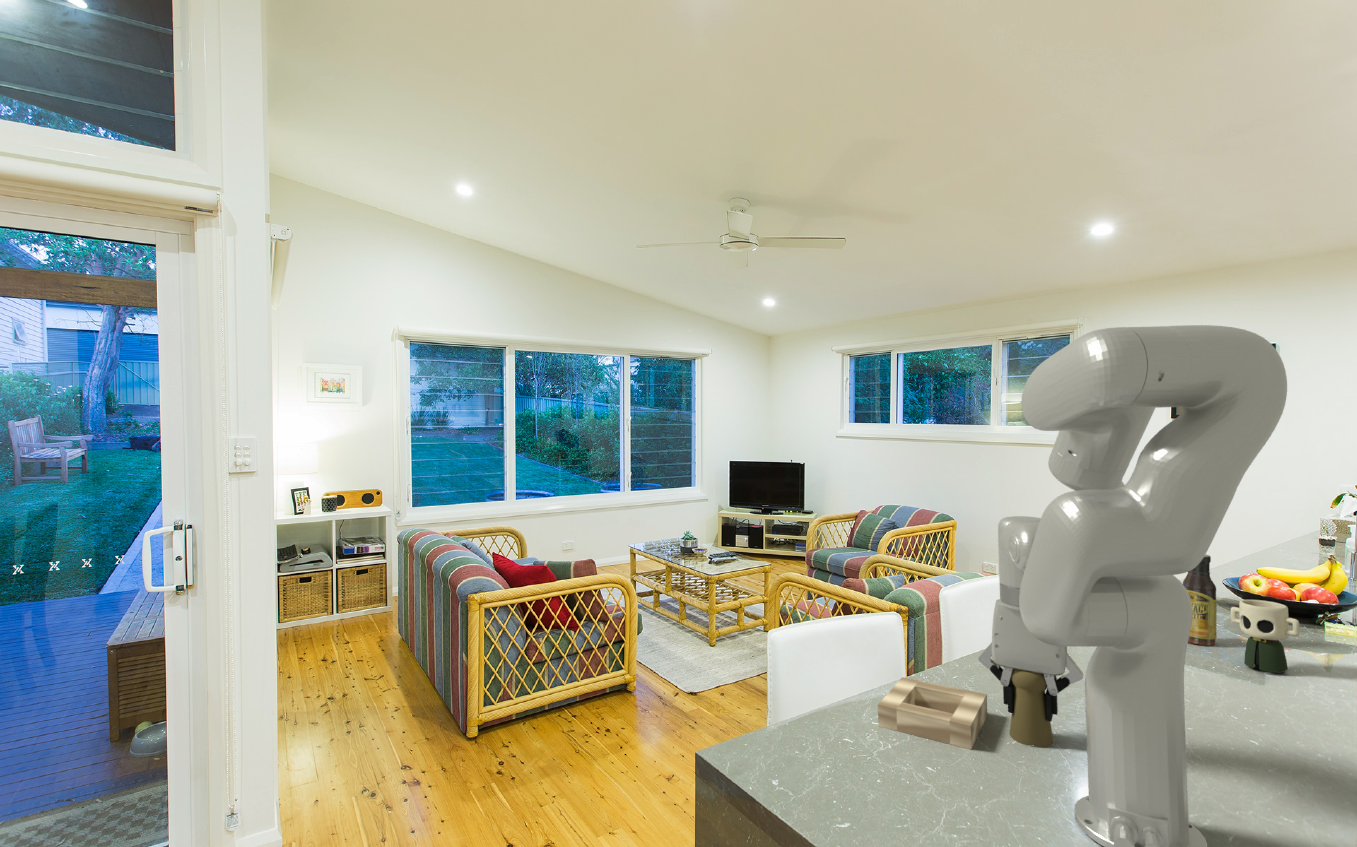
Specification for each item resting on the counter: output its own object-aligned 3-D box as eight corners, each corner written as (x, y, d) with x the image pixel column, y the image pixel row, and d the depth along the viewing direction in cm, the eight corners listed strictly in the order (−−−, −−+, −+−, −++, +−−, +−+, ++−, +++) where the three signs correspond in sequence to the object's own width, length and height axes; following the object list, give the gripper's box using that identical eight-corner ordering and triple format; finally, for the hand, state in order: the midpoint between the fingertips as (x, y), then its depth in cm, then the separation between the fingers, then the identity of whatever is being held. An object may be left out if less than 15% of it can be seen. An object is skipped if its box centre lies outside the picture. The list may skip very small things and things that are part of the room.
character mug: (1222, 663, 127) (1219, 599, 128) (1242, 658, 130) (1240, 595, 130) (1291, 682, 117) (1288, 612, 118) (1311, 676, 120) (1308, 608, 120)
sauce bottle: (1174, 640, 142) (1171, 552, 142) (1190, 636, 144) (1186, 550, 145) (1209, 648, 136) (1205, 557, 136) (1224, 644, 138) (1221, 554, 139)
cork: (1060, 748, 94) (1057, 674, 94) (1016, 745, 95) (1014, 672, 95) (1045, 730, 100) (1042, 660, 100) (1004, 727, 101) (1002, 658, 101)
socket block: (971, 749, 94) (970, 725, 94) (878, 725, 102) (877, 704, 102) (987, 715, 105) (986, 694, 105) (902, 696, 113) (902, 677, 114)
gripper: (1092, 598, 96) (1096, 717, 96) (972, 585, 106) (975, 693, 105) (1090, 609, 90) (1094, 737, 89) (963, 594, 100) (967, 709, 99)
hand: (1030, 712), depth 97 cm, fingers closed on cork, 4 cm apart
